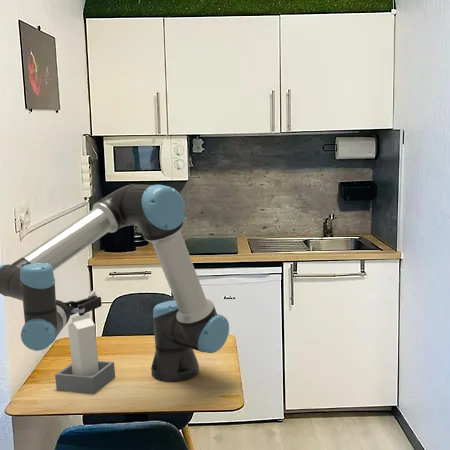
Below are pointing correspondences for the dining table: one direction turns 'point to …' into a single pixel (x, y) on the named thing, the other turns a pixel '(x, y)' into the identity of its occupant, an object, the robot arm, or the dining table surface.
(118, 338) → the dining table surface
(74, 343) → the milk
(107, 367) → the housing
